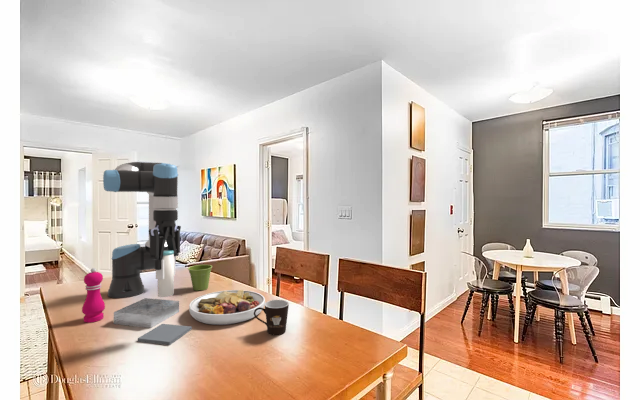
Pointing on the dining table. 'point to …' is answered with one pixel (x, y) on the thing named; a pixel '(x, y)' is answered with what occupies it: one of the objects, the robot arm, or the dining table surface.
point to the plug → (167, 275)
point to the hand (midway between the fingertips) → (165, 276)
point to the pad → (165, 334)
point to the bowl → (226, 307)
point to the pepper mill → (93, 297)
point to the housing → (146, 312)
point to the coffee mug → (275, 316)
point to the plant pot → (200, 276)
